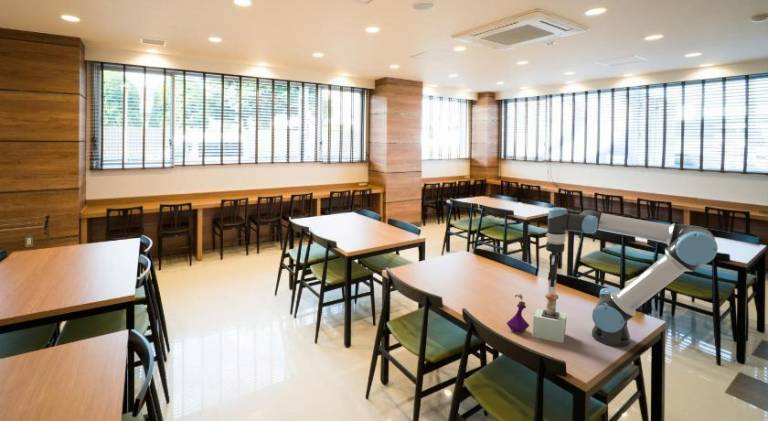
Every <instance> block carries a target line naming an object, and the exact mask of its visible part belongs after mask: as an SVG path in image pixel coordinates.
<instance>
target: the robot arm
mask: <svg viewBox="0 0 768 421" xmlns="http://www.w3.org/2000/svg"><path fill="white" fill-rule="evenodd" d="M597 230H598V231H603V232H609V233H614V234H619V235H624V236H628V237H635V238H639V239H644V240H649V241H654V242H660V243H664V244H665V245H667V246H666V248H664V255H662V256H661V257H660V258H659V259H658V260H657V261H655V262H654V263H653V264H652V265H651V266H649V267H648V268H647V269H645V270H644V271H643V272H642V273H640V274H639V275H638V276H637V277H635V279H633V280H632V281H631V282H630V283H628V284H627V285H626V286H625V287H623V288H622V289H618V288H609V287H604V288H601V289H600V291H599V299H598V302H597V304H596V305H595V307H594V308H593V309H592V314H591V317H592V318H591V319H592V322H593V323H594V326H593V328H592V331H591V337H592V338H593V339H594V340H596V341H597V342H599V343H601V344H605V345H607V346H610V347H611V346H612V347H627V346H629V345H630V343H631V335H630V331H629V329H628V328H629V327H628V321H630V320H631V319H632V318H633V317H635V316H636V312H637V311H636V310H637V309H638V308H639V307H641V306H642V305H643V304H644V303H646V302H647V301H649V300H650V299H651V298H653V297H654V296H655V295H656V294H657V293H659V292H660V291H662V290H663V289H664V288H665V287H667V286H668V285H669V284H670V283H672V282H674V280H676V279H677V278H678V277H680V276H681V275H682V274H684V273H685V272H694V271H695V270H696V269H698V268H699V267H700V266H704V265H706V264H708V263H710V262H711V261H713V259H715V257H716V256H717V253H718V244H717V241H716V238H715V236H714V234H713V233H712V232H711V231H710V230H708V229H707V228H705V227H703V226H698V225H691V224H690V225H689V224H683V223H675V222H674V223H672V224H668V223H661V222H655V221H650V220H643V219H636V218H631V217H625V216H620V215H614V214H610V213H604V212H603V213H602V212H598V211H595V210H593V209H586V210H583V211H582V212H581V213H579V214H578V213H577V214H575V213H569V212H568V209H567V208H565V207H557V206H556V207H555V206H554V207H550V208H549V209H548V216H547V232H546V233H545V237H546V244H545V249H546V250H545V251H547V252H550V253H549V257H548V259H549V277H547V279H548V280H549V282H548V293H553V294H556V290H557V289H556V288H557V279H559V277H558V266H559V260H560V256H561V255H560V253H564V251H565V242H566V235H567V234H566V231H567V232H569V231H570V232H575V233H581V234H582V233H584V234H596V232H597Z"/></svg>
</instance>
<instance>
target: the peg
mask: <svg viewBox="0 0 768 421" xmlns="http://www.w3.org/2000/svg"><path fill="white" fill-rule="evenodd" d="M544 297H545V298H546V305H545V310H546V315H549V316H554V317H555V312H557V311H556V308H557V300H558V299H559V295H558V294H557V293H555V294H553V293H549V292H546V293H545V295H544Z"/></svg>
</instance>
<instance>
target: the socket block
mask: <svg viewBox="0 0 768 421" xmlns="http://www.w3.org/2000/svg"><path fill="white" fill-rule="evenodd" d="M567 315H568V314H567V313H565V312H560V311H559V312H558V311H555V317H554V316H549V315H546V309H542V308H536V311H535V312H534V315H533V321H532V322H533V323H532V337H533V338H538V339H542V340H546V341H551V342H554V343H555V342H556V343H560V344H564V341H565V336H566V329H567V328H566V327H567V318H568V317H567Z"/></svg>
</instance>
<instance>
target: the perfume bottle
mask: <svg viewBox="0 0 768 421" xmlns="http://www.w3.org/2000/svg"><path fill="white" fill-rule="evenodd" d="M514 297H515V298H517V297H518V298H519V299H520V300H521V301H518V304H516V307H517V308H518V309H517V311H516V314H515V315H514V316H513V317H512V318H510V320H507V322H506V325H507V327H509V329H510V330H511V331H512V332H515V333H516V334H520V333H523V332H525V331H526V330H527V329H528V328H529V327H530V325H529V323H528V321H526V320H525V319H524V317H523V316H522V314H523V313H522V312H523V310H524V309H526V308H527V306H526V302H525V301H523V295H522V293H518V294H515V296H514Z"/></svg>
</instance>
